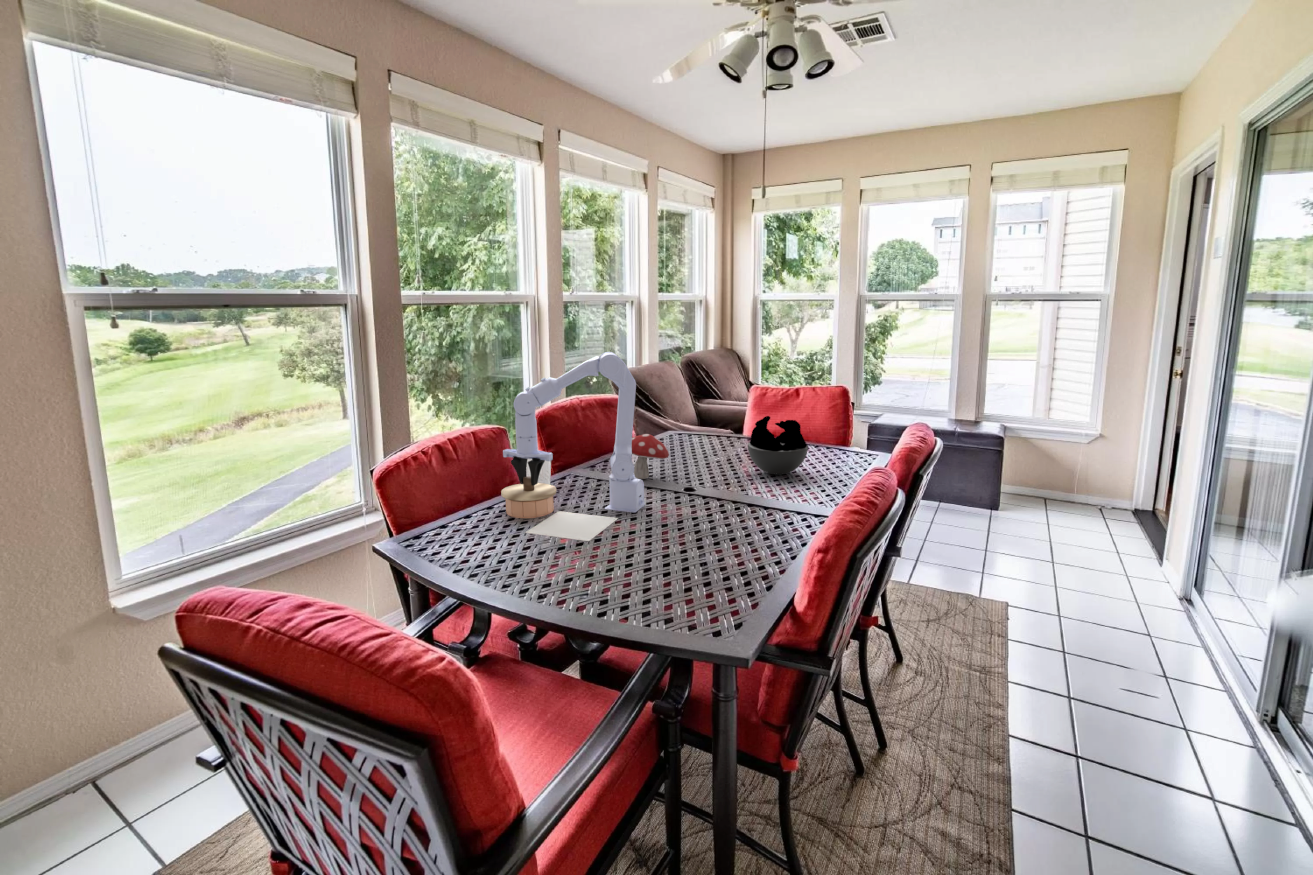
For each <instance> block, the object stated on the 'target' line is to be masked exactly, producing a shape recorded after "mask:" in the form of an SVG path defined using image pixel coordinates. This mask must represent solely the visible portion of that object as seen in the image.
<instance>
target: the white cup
mask: <svg viewBox="0 0 1313 875" xmlns="http://www.w3.org/2000/svg"><path fill="white" fill-rule="evenodd" d="M531 460H532V459H528V460H527V467H526V475H527V476H531V473H530V468H529V465H528V462H529V461H531ZM551 466H552V460H551V461H546V460H545V462H544V464H543V466H542V468H541V471H540V474H539V478H538V483H544V484H549V485H551V473H552V472H551V471H552V470H551V469H552V467H551Z"/></svg>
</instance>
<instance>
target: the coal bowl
mask: <svg viewBox="0 0 1313 875" xmlns="http://www.w3.org/2000/svg"><path fill="white" fill-rule="evenodd" d="M770 420H771V416H770V415H767V416H763V417H762V418H761V419H759V420H757V421H756V422H755V427H754V428H753V429H752V431H751V435H750V440H749V442H747V451H748V454H749V457H750V460H752V462H753V463H754V465H755V466H756V467H757V468H758V469H760V470H761V471H763V472H765V473H767V474H771V475H778V476H779V475H786V474H789V473H791V472H794V471H795V470H797V468H799V467H800V466H801V465H802V463H803V462H804V461H805V458H806V456H807V454H808V451H809V446H808V444H807V442H806V441H805V438H804V436H803V434H802V432H801V427H802V426H801V424H800V423H799V422H798V421H797V420H796V419H795V420H794V419H786V420H785V421H784V420H780V421H779V422H775V423H774V424H775V425H776V426H778V427H779V428H780V429H782V430H784V431H783V432H781V433H780V434H779V435H777V436H776V437H775V434H773V433H772V432H771V431H770V430H769V429H768V423H769V421H770Z"/></svg>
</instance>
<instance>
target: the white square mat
mask: <svg viewBox="0 0 1313 875" xmlns="http://www.w3.org/2000/svg"><path fill="white" fill-rule="evenodd" d="M618 519H619V517H613V516H602V515H594V514H586V513H578V512H570V511H568V512H567V511H560V510H558V511H557V512H556V513H554V514H552V515H550V516H549V517H547V518H546V519H544V520H543V521H541V522H540V523H538V524H536V525H535V526H533V527H531V528H530V529H528V530H527V531H525V532H524V533H525V534H531V535H538V536H539V535H540V536H547V537H551V538H560V539H561V538H562V539H568V540H577V541H582V542H591V541H592V540H593V539H594V538H595V537H596V536H598V535H599V534H600V533H601V532H603V531H604V530H605V529H607V528H608V527H609V526H611V525H612V524H613V523H614V522H616V521H617V520H618Z"/></svg>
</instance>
